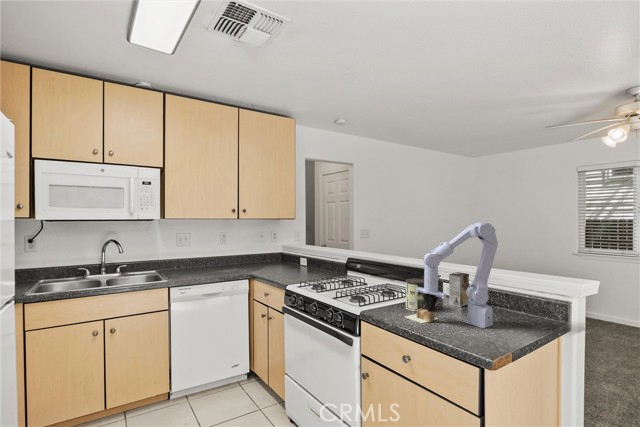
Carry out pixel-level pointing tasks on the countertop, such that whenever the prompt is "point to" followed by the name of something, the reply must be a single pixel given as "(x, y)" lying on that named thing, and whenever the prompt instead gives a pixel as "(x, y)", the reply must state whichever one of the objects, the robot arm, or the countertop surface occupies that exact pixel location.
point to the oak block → (425, 315)
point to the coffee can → (414, 295)
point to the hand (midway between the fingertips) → (430, 311)
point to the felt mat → (414, 318)
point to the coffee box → (458, 289)
